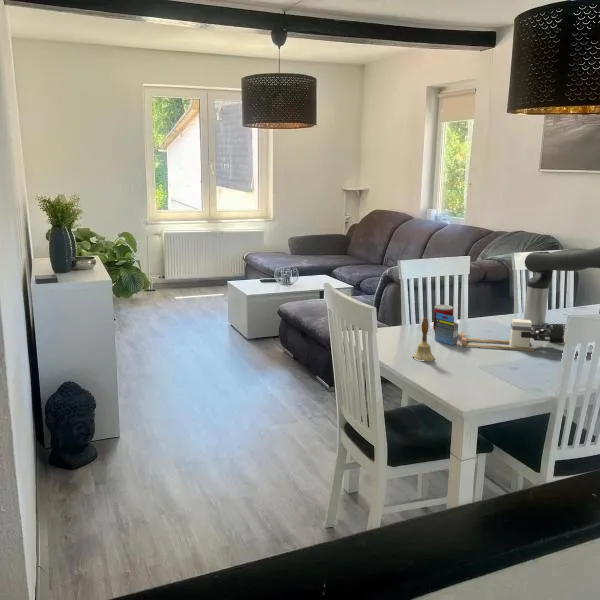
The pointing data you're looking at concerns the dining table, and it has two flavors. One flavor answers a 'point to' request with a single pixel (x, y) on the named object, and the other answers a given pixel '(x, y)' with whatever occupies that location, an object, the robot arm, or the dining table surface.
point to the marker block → (516, 330)
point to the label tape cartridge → (446, 329)
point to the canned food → (442, 312)
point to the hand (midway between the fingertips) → (519, 331)
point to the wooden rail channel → (464, 344)
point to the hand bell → (424, 345)
